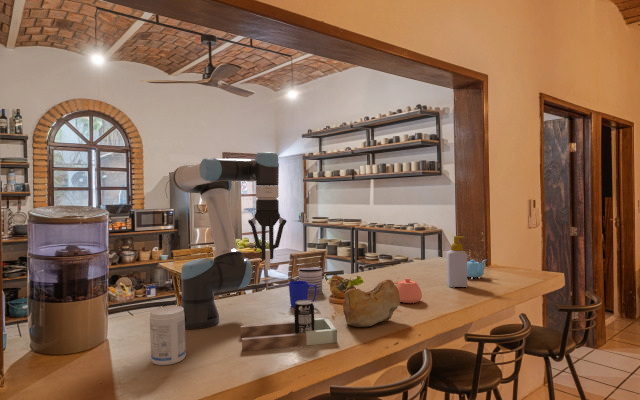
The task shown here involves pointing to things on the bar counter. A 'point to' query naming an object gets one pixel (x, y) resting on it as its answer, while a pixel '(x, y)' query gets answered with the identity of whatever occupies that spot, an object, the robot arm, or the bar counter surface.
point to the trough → (271, 341)
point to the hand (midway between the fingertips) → (267, 268)
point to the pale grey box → (322, 332)
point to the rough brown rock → (371, 304)
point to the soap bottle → (457, 265)
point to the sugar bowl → (409, 291)
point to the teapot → (475, 268)
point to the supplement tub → (167, 335)
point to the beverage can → (304, 316)
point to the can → (312, 279)
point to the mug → (299, 291)
